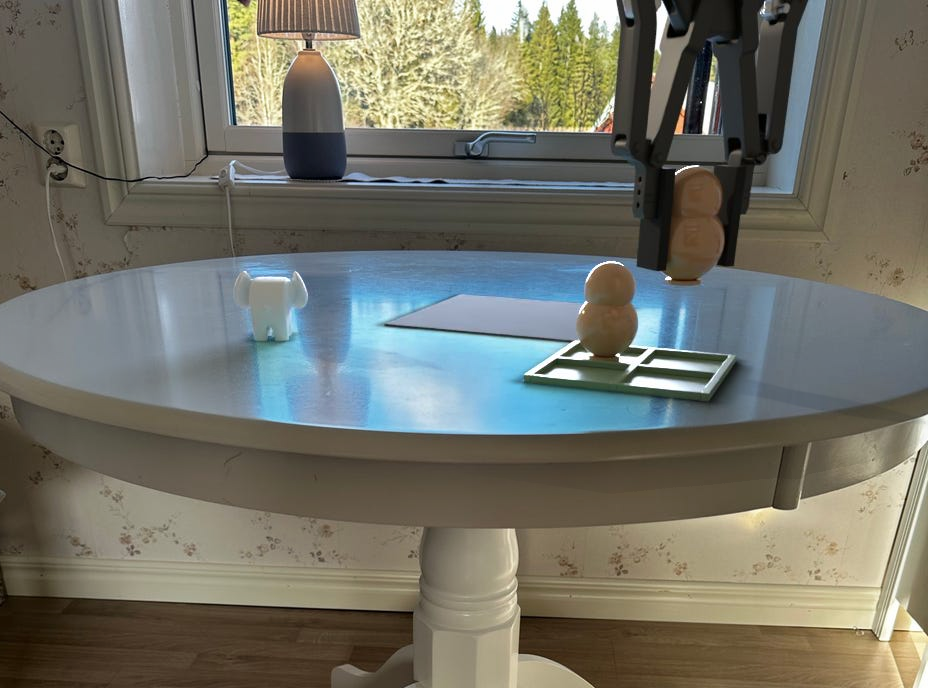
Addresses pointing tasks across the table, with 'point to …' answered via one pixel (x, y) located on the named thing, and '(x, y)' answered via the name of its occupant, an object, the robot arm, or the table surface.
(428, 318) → the mat
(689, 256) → the tan snowman shaped figurine
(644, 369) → the green divided tray
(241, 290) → the elephant figurine
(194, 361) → the table surface
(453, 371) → the table surface
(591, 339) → the snowman figurine
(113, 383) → the table surface
